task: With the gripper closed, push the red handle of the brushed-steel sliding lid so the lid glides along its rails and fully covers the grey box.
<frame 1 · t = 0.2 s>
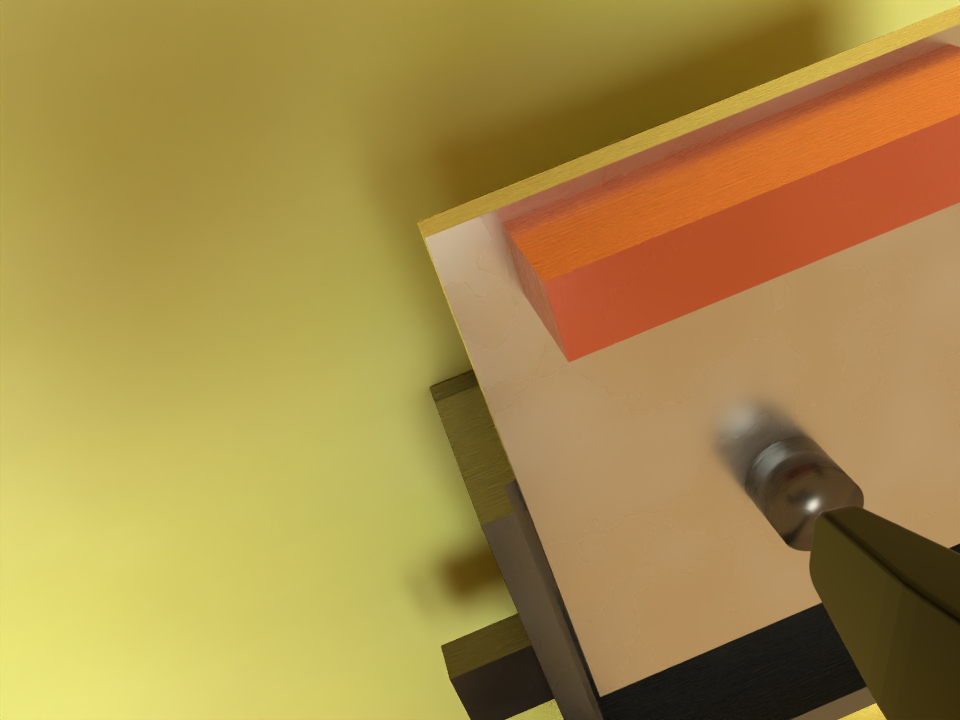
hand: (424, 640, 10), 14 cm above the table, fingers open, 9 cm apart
grey box: (705, 474, 29), on the table
lid: (795, 429, 20), point 7 cm above the table, slide at 7.0 cm
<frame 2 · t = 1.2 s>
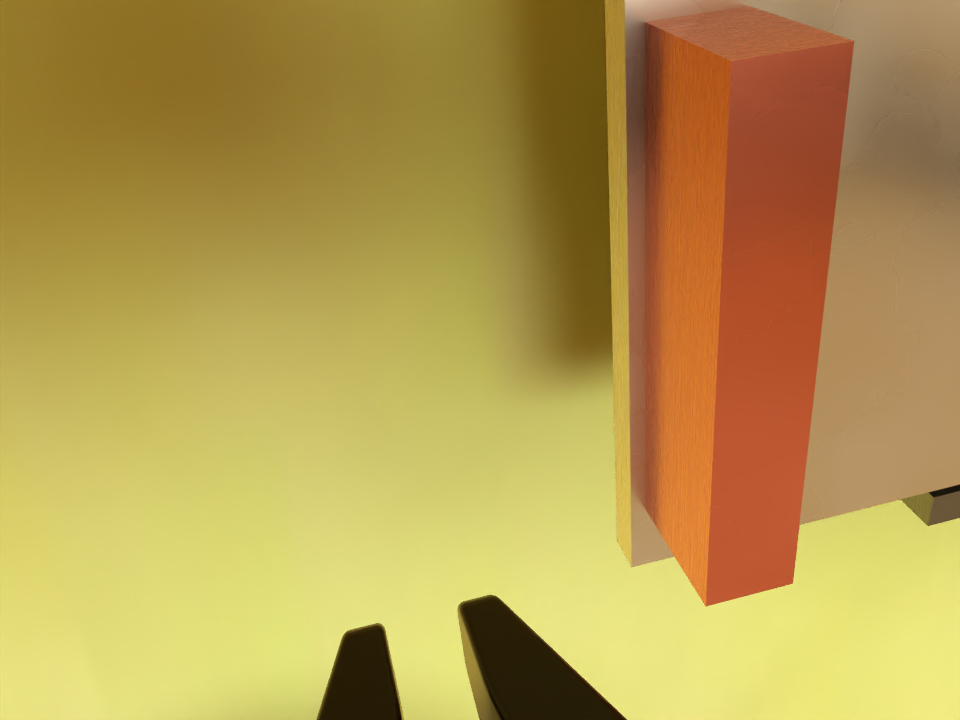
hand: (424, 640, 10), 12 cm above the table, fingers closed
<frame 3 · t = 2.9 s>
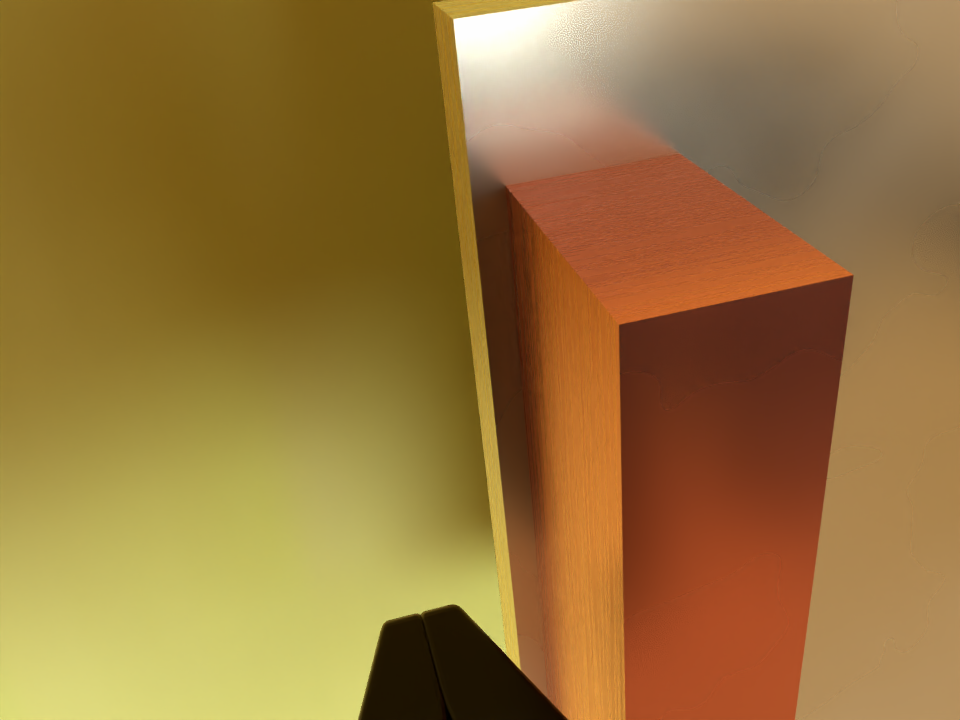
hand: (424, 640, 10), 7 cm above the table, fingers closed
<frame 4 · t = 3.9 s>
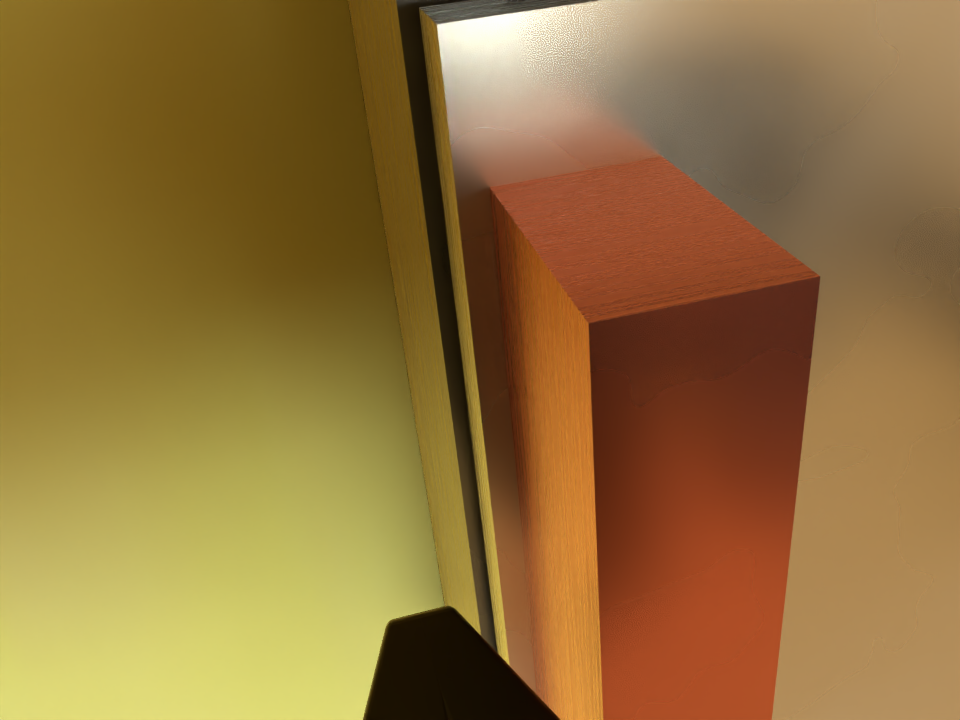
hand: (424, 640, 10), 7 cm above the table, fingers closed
grey box: (784, 250, 16), on the table
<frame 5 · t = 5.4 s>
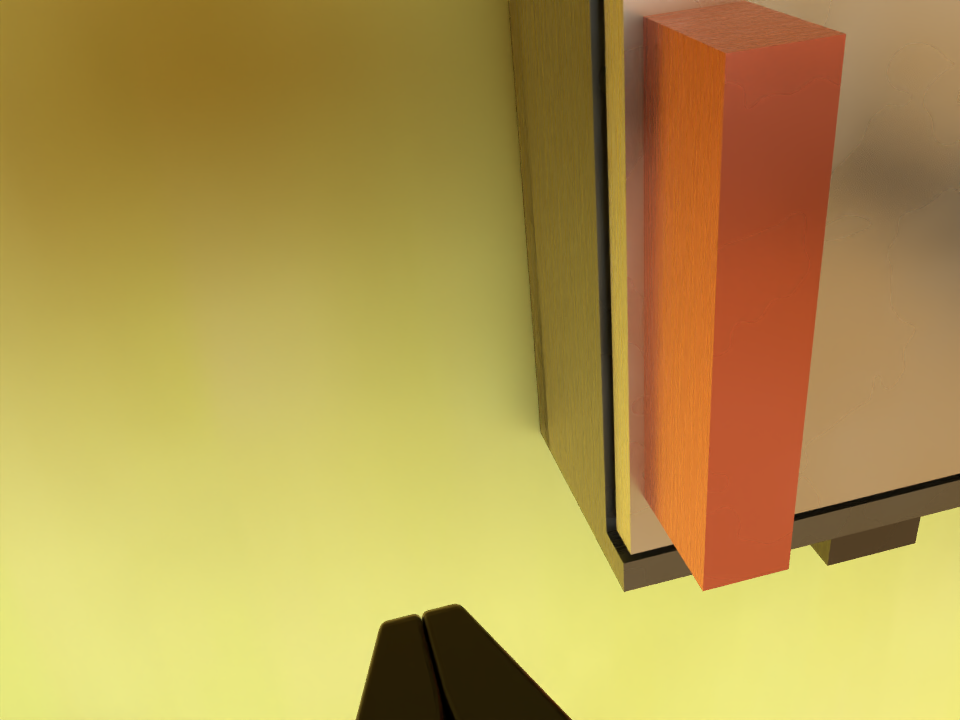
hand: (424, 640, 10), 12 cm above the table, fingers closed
grey box: (806, 130, 22), on the table
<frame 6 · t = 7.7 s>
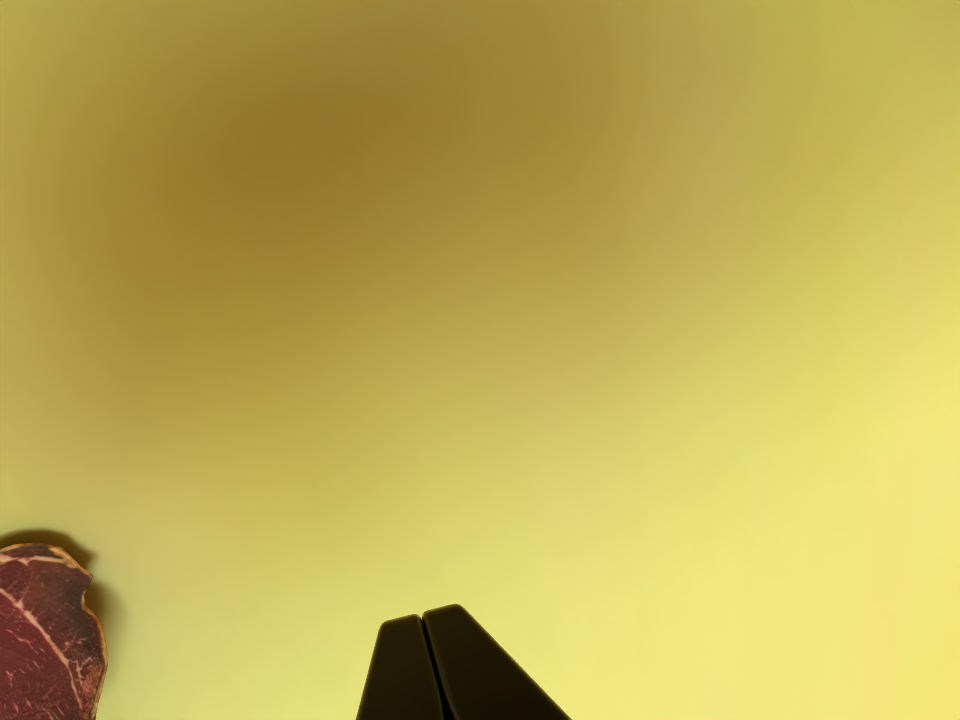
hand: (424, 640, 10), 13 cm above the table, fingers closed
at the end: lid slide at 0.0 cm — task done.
